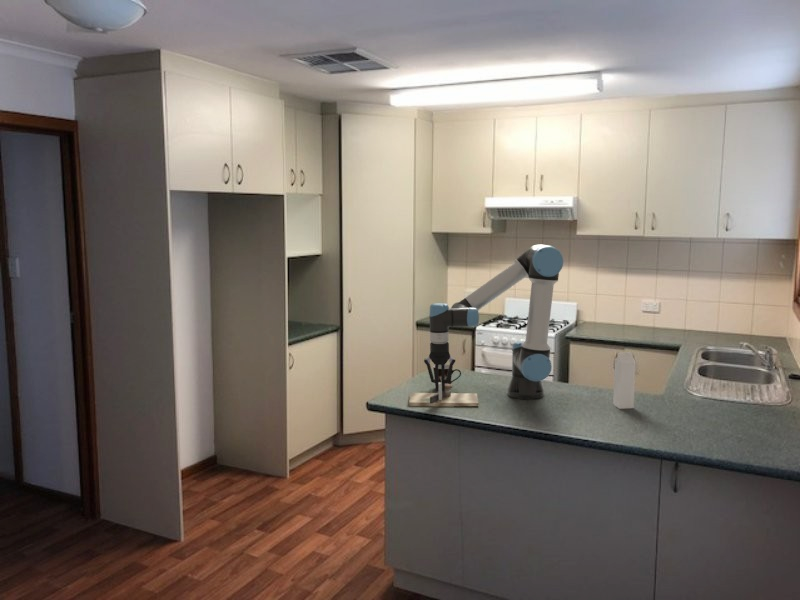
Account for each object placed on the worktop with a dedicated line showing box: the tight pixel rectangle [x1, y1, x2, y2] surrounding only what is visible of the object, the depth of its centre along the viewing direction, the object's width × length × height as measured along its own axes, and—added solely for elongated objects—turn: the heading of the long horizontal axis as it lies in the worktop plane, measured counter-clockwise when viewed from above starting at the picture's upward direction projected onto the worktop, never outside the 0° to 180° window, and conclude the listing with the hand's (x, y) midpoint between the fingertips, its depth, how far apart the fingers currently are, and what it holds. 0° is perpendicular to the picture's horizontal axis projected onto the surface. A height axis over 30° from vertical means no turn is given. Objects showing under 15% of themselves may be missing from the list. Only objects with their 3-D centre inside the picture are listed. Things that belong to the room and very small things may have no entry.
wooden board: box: [408, 392, 479, 407], centre depth 270 cm, size 28×14×2 cm, turn 86°
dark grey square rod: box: [430, 383, 453, 403], centre depth 267 cm, size 5×17×4 cm, turn 151°
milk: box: [612, 352, 637, 410], centre depth 260 cm, size 6×6×22 cm
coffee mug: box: [432, 363, 462, 388], centre depth 288 cm, size 12×9×10 cm
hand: (440, 398), depth 264 cm, fingers closed
